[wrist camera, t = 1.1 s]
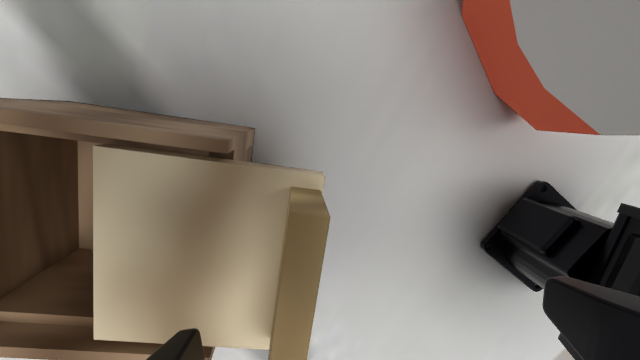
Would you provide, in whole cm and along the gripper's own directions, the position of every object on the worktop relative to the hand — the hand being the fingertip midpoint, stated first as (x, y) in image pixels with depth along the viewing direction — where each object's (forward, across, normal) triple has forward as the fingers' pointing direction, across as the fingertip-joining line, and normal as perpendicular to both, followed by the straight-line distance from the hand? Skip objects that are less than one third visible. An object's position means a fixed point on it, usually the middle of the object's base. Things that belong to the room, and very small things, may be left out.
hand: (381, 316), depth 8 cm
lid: (+6, +6, 0) cm, 8 cm away
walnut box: (+14, +10, -1) cm, 17 cm away
